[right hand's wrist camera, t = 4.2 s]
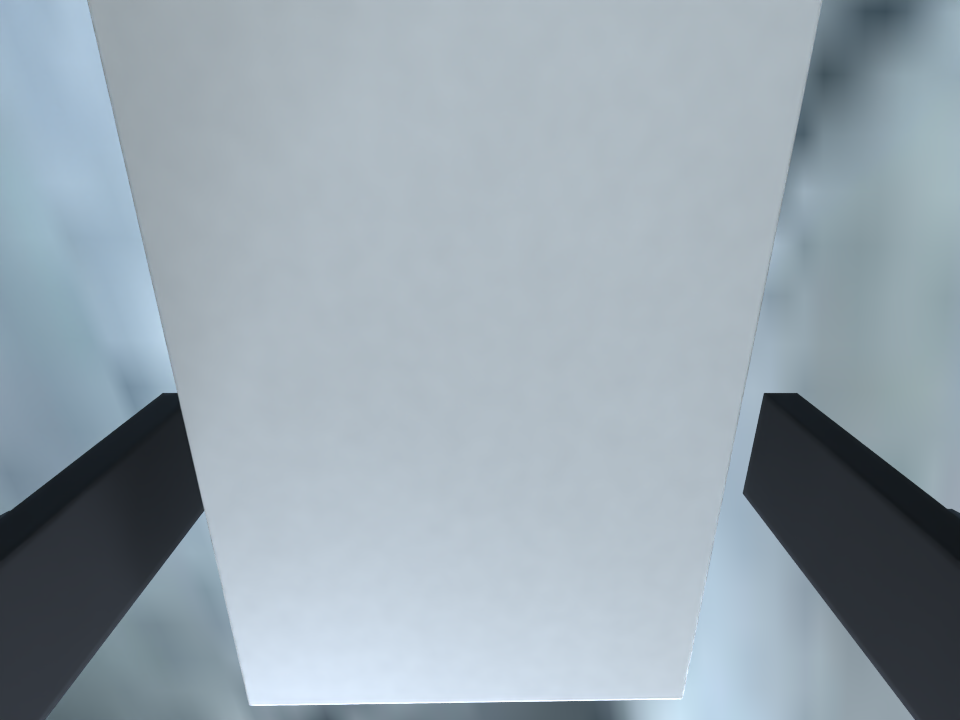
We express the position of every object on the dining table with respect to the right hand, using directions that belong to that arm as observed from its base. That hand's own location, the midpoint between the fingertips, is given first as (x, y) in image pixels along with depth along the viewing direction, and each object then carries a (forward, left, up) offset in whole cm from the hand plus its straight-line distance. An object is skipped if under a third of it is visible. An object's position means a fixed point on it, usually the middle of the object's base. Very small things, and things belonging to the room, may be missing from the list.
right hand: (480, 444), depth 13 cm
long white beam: (-10, +31, -5) cm, 33 cm away
